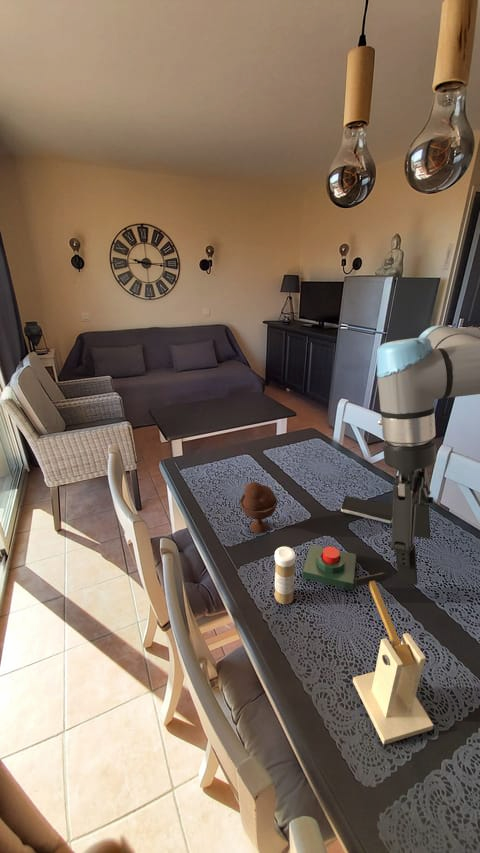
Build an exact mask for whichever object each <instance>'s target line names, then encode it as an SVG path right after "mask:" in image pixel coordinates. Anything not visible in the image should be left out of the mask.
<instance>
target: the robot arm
mask: <svg viewBox="0 0 480 853" xmlns="http://www.w3.org/2000/svg"><path fill="white" fill-rule="evenodd" d="M376 377H377V385H378V386H377V387H378V396H379V409H380V419H378V421H377V424H378V425H379V426H381V427H382V428H381V431H382V439H383V440H384V441H383V443H382V448H383V449H382V450H383V461H384V463H385V464H386V465H387V466H388V467H390V468H392V469H395V470H396V471H397V472H398V473H397V475H395V477H394V482H392V488H391V489H392V506H393V516H392V523H391V540H390V541H388V546H389V547H390V549H391V550H392V551H395V560H396V574H397V582H400V583H405V584H408V585H414V586H418V584H419V583H418V581H419V580H418V567H417V552H416V550H417V549H416V544H415V545H414V541H415V540H414V539H415V537H416V538H423V539H427V540H430V539H431V520H430V519H431V517H430V504H431V505H433V504H434V496H431V492H432V491H431V488H430V482H429V477H428V476H429V475H428V471H427V470H428V468H430V467H432V466H433V465H434V464H436V462H437V449H436V448H437V447H436V440H435V439H434V438H435V437H436V418H435V416H436V415H435V406H434V404H435V403H434V402H435V400H442V399H449V398H457V397H458V398H459V397H466V396H476V395H480V326H477V327H472V326H471V327H470V326H469V327H454V326H453V327H452V326H450V325H440V324H439V325H433V326H430V327H428V328H427V329H425V330H424V331H422V333H421V334H420V335H419V336H418V337H414V338H413V337H412V338H405V339H398V340H392V341H388V342H384V343H382V344H381V345H379V347H378V348H377V351H376Z"/></svg>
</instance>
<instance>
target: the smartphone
mask: <svg viewBox="0 0 480 853" xmlns="http://www.w3.org/2000/svg"><path fill="white" fill-rule="evenodd" d="M340 512H342V513H344V514H345V513H346V514H349V515H353V516H357V517H362V518H364V519H365V518H366V519H369V520H370V519H371V520H374V521H378V522H383V523H387V524H392V516H393V505H391V504H390V505H389V504H385V503H381V502H375V501H371V500H367V499H363V498H358V497H354V496H349V495H345V496H344V498H343V501H342V505H341V507H340Z"/></svg>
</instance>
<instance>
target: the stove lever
mask: <svg viewBox="0 0 480 853" xmlns="http://www.w3.org/2000/svg"><path fill="white" fill-rule="evenodd" d="M387 579H388V577H387V574H386V572H379V573H375V574H369V575H364V576H359V577H354V579H353V582H354V585H353V586H355V587H361V586H365V585H368V588H369V590H370V593H371V596H372V598H373V601H374V603H375V605H376V608H377V610H378V612H379V616H380V618H381V620H382V623H383V625H384V628H385V630H386V632H387V635H388V638H389V641H390V644H391V646H392V647H393V649H394V651H395V652H396V654H397V655H398V657H399V658H400V660H401V662H402V663H403V666H402V667H404V666H407V665H411V664H414V660H413V658H412V656H411V653H410V651H409V649H408V646H407V644H406V643H405V644H402V645H401V640H400V638H399V635H398V633H397V630H396V628H395V626H394V624H393V621H392V619H391V616H390V613H389V611H388V609H387V607H386V605H385V602H384V599H383V597H382V594H381V593H380V589H379V587H378V585H377V583H380V582H384V581H387Z"/></svg>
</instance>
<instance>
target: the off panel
mask: <svg viewBox="0 0 480 853" xmlns="http://www.w3.org/2000/svg"><path fill="white" fill-rule="evenodd" d="M324 548H325V547H323V546H318V545H315V544H309V547H308V550H307V555H306V557H305V558H306V559H305V561H304V566H303V569H302V579H305V580H310V581H313V582H317V583H321V584H326V585H329V586H332V587H337V588H341V589H346V590H349V591H353V590H354V586H355V585H354V582H353V579H354V578H355V575H356V574H355V573H356V562H357V554H356V553H351V552H346V551H343V550H342V551H341V550H339V549H338V551H339V553H340V555H339V561H338V563H336V564H328V563H326V562H325V561H324V560H323V550H324Z"/></svg>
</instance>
